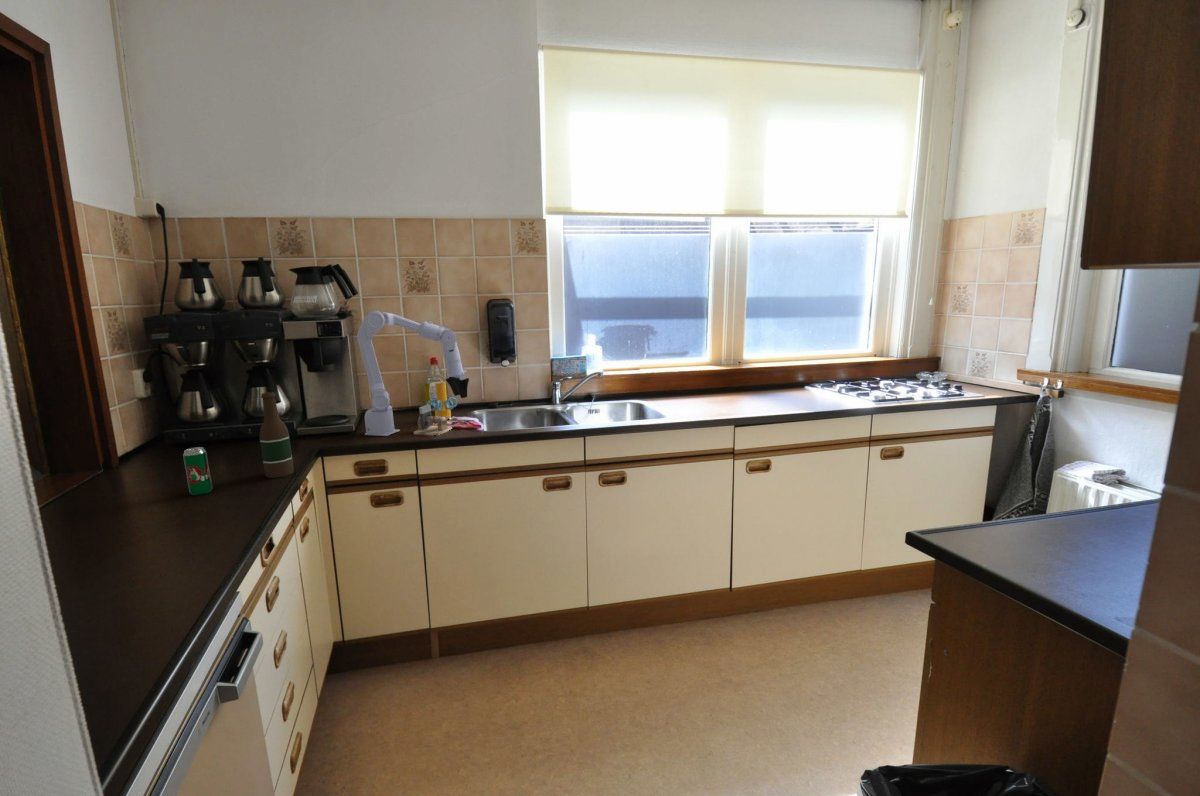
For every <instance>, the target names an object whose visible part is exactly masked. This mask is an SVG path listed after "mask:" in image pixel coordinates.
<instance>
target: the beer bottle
mask: <svg viewBox="0 0 1200 796" xmlns="http://www.w3.org/2000/svg"><path fill="white" fill-rule="evenodd" d="M260 398H261V399H262V409H263V422H262V425H261V427H260V429H259V444H260V450H261V451H260V452H261V456H262V464H263V470H264V474H265V475H264V476H265V477H266V478H267V477H268V478H269V479H278V478H279V479H280V478H285V477H287V476H290V475H293V474H294V461H293V454H292V453H293V452H292V449H291V447H292V446H291V442H290V441H291V439H290V434H289V429H288V427H287V426H286V423H284V421H282V419H281V417H280V415H279V411H278V405H277V401H276V392H274V391H268V392H263V393H261V397H260Z"/></svg>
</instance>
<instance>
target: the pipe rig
mask: <svg viewBox="0 0 1200 796" xmlns="http://www.w3.org/2000/svg"><path fill="white" fill-rule="evenodd" d="M424 417H425V424H426V423H432V424H434V425H431V426H429V427H427V428H424V429H422V428H421V423H420V415H419V416H418V420H417V429H416V430H414V431H413V435H418V436H419V435H420V436H422V435H423V436H434V435H436V436H435V437H439V436H441V435H443V434H446V433H447V432H450V431H452V430H453V427H452V426H448V421H447V419H446V418H445V417H438V416H435V415H434V416H433V415H432V416H427V415H426V416H424ZM436 424H437V425H436ZM451 429H452V430H451ZM449 430H450V431H449ZM440 434H441V435H440ZM438 435H439V436H438Z"/></svg>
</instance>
